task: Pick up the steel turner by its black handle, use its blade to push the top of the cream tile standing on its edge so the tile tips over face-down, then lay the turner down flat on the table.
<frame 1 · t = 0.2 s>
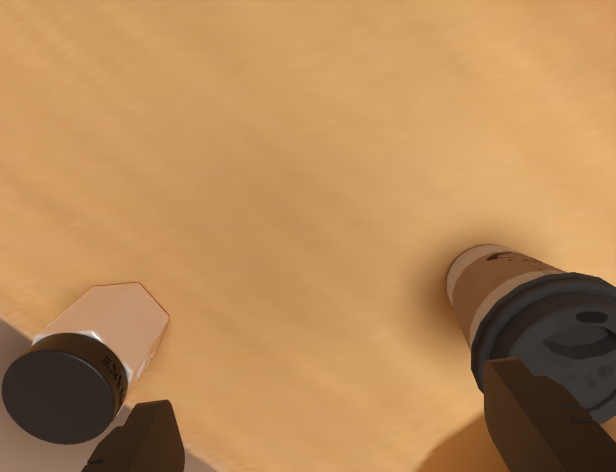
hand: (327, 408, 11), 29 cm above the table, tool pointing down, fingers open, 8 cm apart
jar: (126, 319, 43), on the table
coffee cup: (482, 278, 41), on the table
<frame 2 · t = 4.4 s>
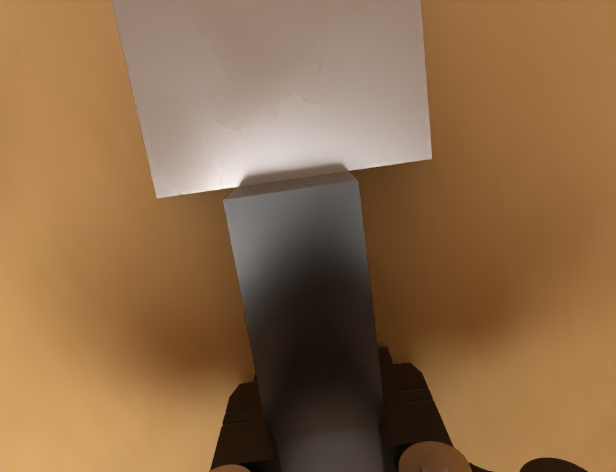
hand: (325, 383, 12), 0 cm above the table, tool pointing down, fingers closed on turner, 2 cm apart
turner: (311, 288, 11), on the table, touching gripper
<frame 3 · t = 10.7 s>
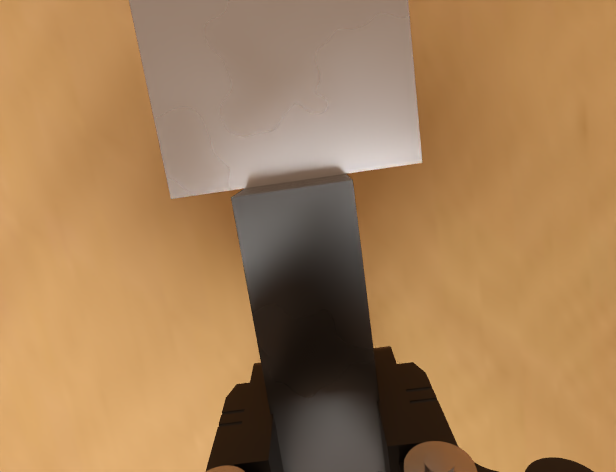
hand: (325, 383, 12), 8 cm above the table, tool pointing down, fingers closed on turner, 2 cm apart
turner: (313, 284, 12), point 7 cm above the table, tilted 5°, touching gripper
when the fingers open (1 cm above the table, at t = 16.6 s): turner stays where it is, on the table.
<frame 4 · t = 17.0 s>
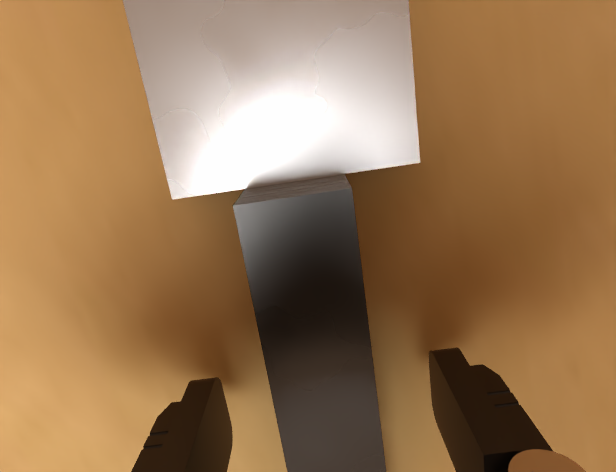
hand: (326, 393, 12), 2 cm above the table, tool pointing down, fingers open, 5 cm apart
turner: (312, 277, 12), on the table
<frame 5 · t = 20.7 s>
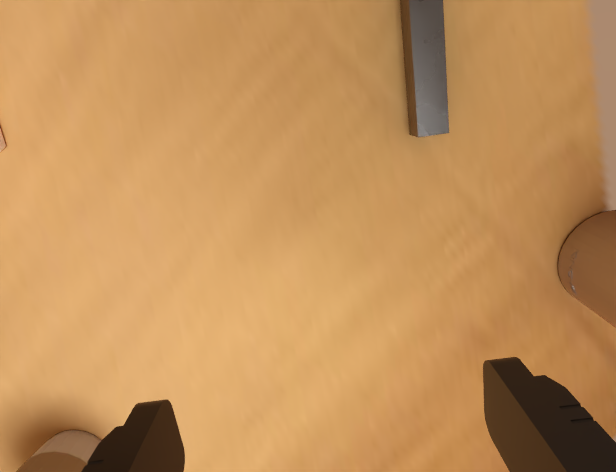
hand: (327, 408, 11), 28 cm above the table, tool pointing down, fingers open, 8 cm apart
coffee cup: (79, 455, 46), on the table
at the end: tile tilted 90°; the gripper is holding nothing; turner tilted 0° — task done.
